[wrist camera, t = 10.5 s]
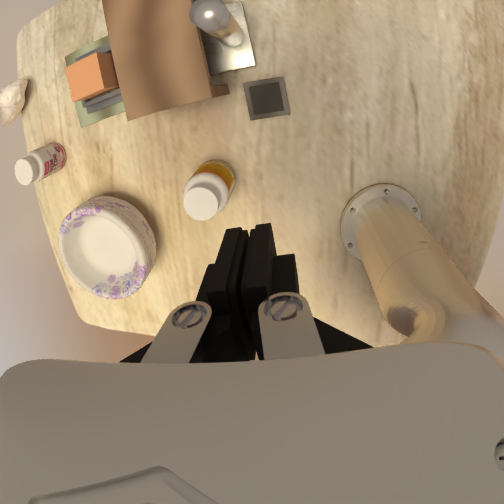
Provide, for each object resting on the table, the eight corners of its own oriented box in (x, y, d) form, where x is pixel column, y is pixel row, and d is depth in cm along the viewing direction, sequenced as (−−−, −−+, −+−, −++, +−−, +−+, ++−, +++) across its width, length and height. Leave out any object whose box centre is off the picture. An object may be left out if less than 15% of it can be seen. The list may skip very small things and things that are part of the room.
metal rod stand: (241, 3, 30) (221, -38, 17) (255, 65, 34) (242, 55, 21) (78, 58, 34) (6, 63, 21) (91, 113, 38) (22, 135, 25)
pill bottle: (70, 165, 43) (38, 183, 36) (50, 173, 44) (19, 192, 36) (61, 137, 41) (27, 152, 33) (42, 147, 41) (8, 162, 34)
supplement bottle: (197, 157, 41) (176, 179, 33) (236, 160, 41) (225, 182, 33) (196, 194, 44) (177, 224, 36) (234, 198, 44) (223, 228, 36)
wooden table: (255, -43, 27) (247, -80, 17) (289, 113, 38) (294, 124, 28) (60, 27, 31) (11, 24, 22) (91, 160, 42) (48, 186, 33)
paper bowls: (107, 168, 43) (80, 186, 36) (182, 232, 48) (166, 260, 41) (69, 232, 49) (44, 256, 42) (133, 287, 54) (116, 316, 47)
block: (115, 53, 33) (96, 52, 29) (122, 86, 35) (104, 88, 31) (85, 66, 34) (65, 67, 30) (92, 98, 36) (73, 102, 32)
